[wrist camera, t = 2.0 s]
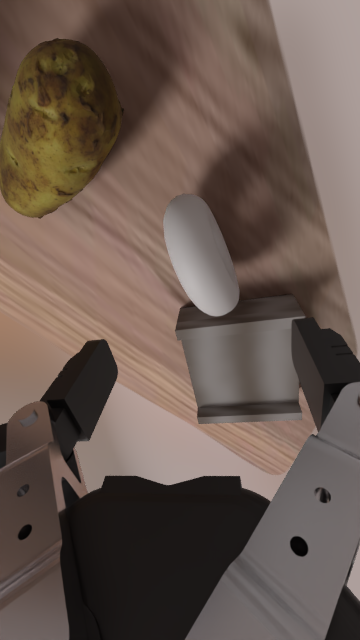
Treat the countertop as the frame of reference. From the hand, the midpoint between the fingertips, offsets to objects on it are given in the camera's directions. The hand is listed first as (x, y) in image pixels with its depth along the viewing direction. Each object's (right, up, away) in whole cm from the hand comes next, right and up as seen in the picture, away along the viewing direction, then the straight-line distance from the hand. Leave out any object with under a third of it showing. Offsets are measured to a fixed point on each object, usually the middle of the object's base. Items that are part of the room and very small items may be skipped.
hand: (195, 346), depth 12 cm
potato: (-10, +16, +12) cm, 22 cm away
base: (+7, -3, +21) cm, 22 cm away
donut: (+2, +9, +15) cm, 17 cm away
